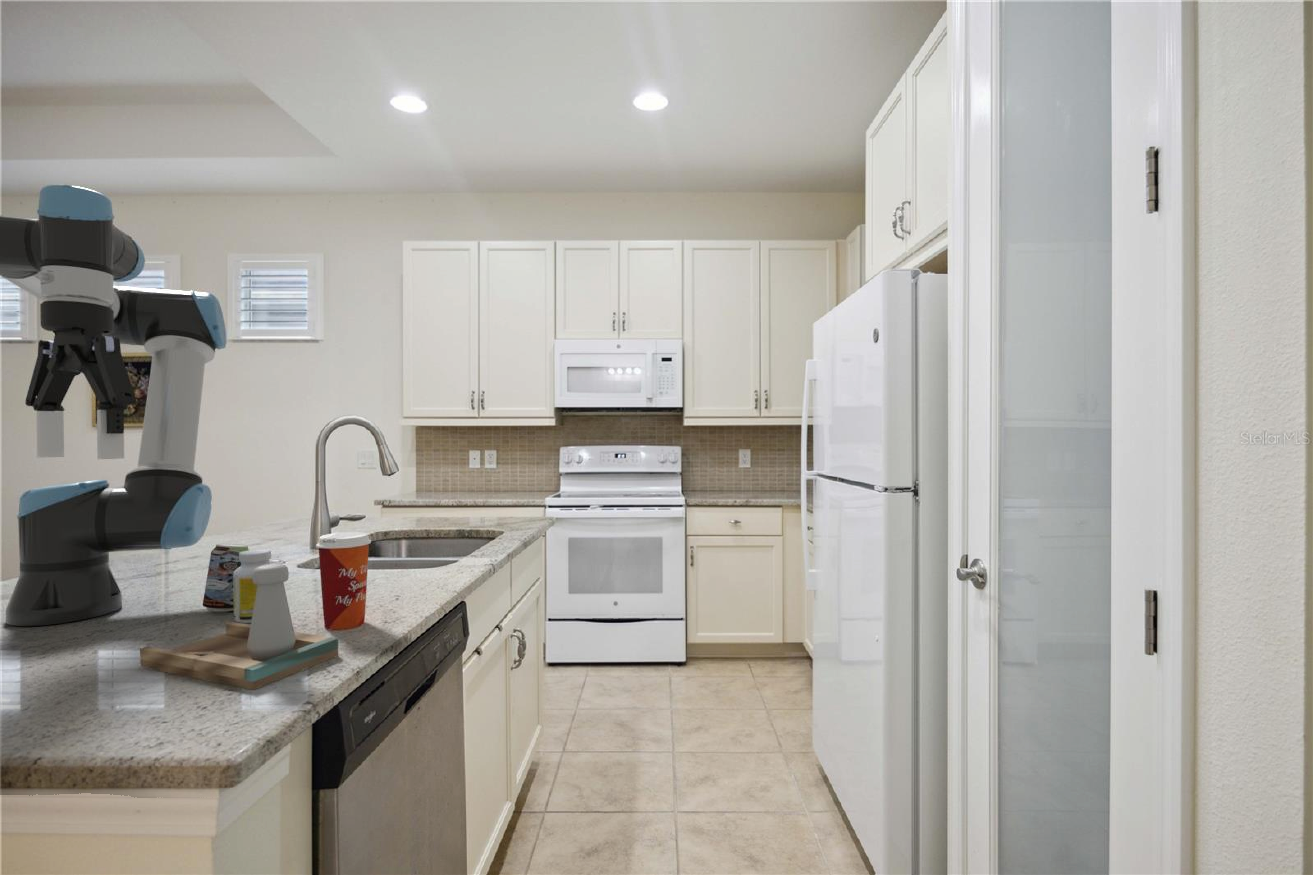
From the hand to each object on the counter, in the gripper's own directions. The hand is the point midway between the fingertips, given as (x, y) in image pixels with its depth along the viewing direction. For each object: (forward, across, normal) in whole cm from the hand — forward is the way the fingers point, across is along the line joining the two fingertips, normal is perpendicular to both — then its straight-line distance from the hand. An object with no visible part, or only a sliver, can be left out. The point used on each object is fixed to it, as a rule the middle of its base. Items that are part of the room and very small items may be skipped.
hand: (80, 458), depth 89 cm
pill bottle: (+29, +2, +24) cm, 38 cm away
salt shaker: (+28, +25, +9) cm, 39 cm away
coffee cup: (+29, +19, +27) cm, 44 cm away
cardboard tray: (+29, +19, +9) cm, 36 cm away
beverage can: (+29, -8, +26) cm, 40 cm away
